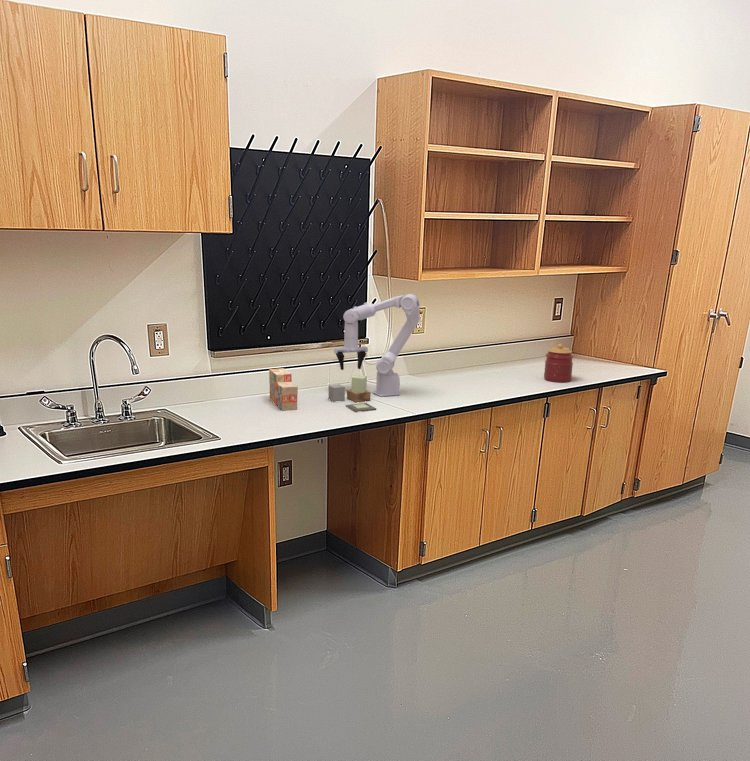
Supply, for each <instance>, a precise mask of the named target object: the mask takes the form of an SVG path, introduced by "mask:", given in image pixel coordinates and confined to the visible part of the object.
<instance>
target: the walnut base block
mask: <svg viewBox="0 0 750 761" xmlns="http://www.w3.org/2000/svg"><path fill="white" fill-rule="evenodd" d="M371 392H372V391H368V390H367V389H366V391H365V392H364V393H356V392H351V389H348V390H346V400H347V401H350V400H351V402H352V401H353V402H352V403H354V404H358V403H357V402H359V403H366V402H370V401H371V395H372V394H371ZM365 401H366V402H365Z"/></svg>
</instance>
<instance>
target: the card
mask: <svg viewBox="0 0 750 761" xmlns="http://www.w3.org/2000/svg"><path fill="white" fill-rule="evenodd" d="M345 407H346V408H347V407H348V409H349V410H351V411H352V410H353V411H352V412H354V411H355V412H354V413H358V412H357V411H362V412H369V411H368V410H371V411H377V408H376V407H375V406H373V405H371V404H369V403H367V402H360V403H353V404H345Z"/></svg>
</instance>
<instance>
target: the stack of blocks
mask: <svg viewBox="0 0 750 761" xmlns="http://www.w3.org/2000/svg"><path fill="white" fill-rule="evenodd" d="M268 374H269V375H268V376H269V378H268V380H269V381H268V382H269V399H270V400H271V399H272V400H271V401H272V403H274V404H275V405H276V406H277V405H278V406H277V407H278V408H279V409H280V410H281V411H292V410H294V409H296V410H298V392H299V390H298V385H296V384H295V382H293V381H292V373H291V372H289V371H288V370H287V369H285V368H283V367H282V368H269V369H268Z"/></svg>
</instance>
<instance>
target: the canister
mask: <svg viewBox="0 0 750 761" xmlns="http://www.w3.org/2000/svg"><path fill="white" fill-rule="evenodd" d="M547 351H548V352H547V353H545V357H546V358H545V360H544V373H543V378H544V379H543V380H545V381H548V382H554V383H569V382H571V381H572V378H573V365H574V363H573V359H574V355H573V354H572V353H573V350H571V348H568V347H565V346H564V344H563V343H558V344H557V346H552V347H549V348H548V349H547Z"/></svg>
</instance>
